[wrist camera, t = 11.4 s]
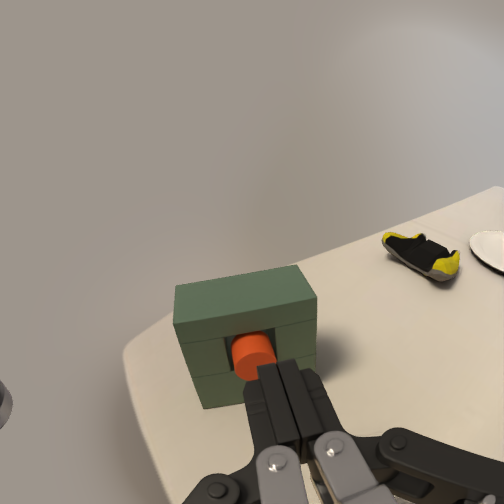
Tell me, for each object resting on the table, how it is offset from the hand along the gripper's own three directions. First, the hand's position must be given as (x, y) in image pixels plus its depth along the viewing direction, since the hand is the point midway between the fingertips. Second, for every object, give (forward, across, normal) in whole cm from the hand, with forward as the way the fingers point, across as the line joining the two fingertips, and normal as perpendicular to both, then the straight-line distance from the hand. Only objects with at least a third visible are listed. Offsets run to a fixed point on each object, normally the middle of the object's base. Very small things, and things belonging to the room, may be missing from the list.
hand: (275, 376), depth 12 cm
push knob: (+11, 0, +12) cm, 16 cm away
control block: (+15, 0, +18) cm, 23 cm away
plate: (+24, -55, +18) cm, 62 cm away
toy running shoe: (+28, -32, +18) cm, 47 cm away
